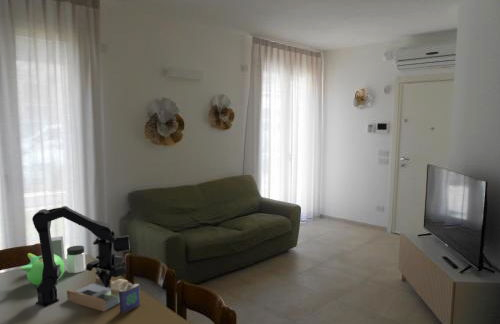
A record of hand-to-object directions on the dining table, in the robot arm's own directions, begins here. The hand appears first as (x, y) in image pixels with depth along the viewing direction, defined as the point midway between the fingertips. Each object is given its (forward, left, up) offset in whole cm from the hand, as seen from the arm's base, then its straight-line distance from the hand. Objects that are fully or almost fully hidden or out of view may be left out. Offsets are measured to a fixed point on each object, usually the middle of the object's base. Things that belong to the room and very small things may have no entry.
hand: (106, 287), depth 164 cm
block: (0, -8, -1) cm, 8 cm away
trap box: (-3, 0, -4) cm, 5 cm away
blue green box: (-5, -19, -4) cm, 20 cm away
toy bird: (-4, +36, -4) cm, 37 cm away
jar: (+14, +37, -4) cm, 40 cm away
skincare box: (+12, +51, -4) cm, 52 cm away
